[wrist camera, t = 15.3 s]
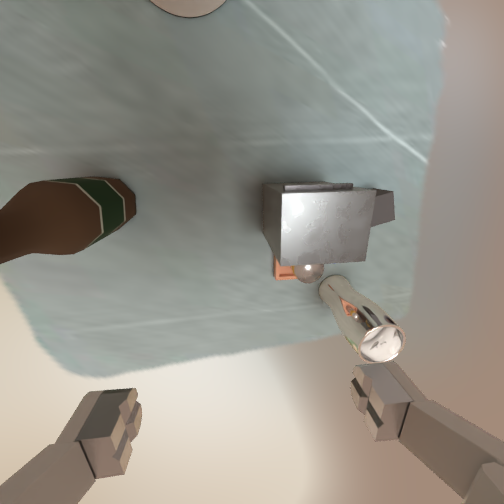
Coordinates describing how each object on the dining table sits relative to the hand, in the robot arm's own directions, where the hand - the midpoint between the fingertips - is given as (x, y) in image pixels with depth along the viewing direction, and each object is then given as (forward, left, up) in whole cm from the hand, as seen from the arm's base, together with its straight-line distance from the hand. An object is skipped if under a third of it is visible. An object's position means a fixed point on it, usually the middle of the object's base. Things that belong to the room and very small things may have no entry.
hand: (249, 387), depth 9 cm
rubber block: (-1, +22, -31) cm, 38 cm away
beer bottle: (-3, -18, -31) cm, 36 cm away
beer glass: (+15, +19, -31) cm, 39 cm away
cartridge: (+7, +11, -30) cm, 33 cm away
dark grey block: (-1, +10, -31) cm, 33 cm away
